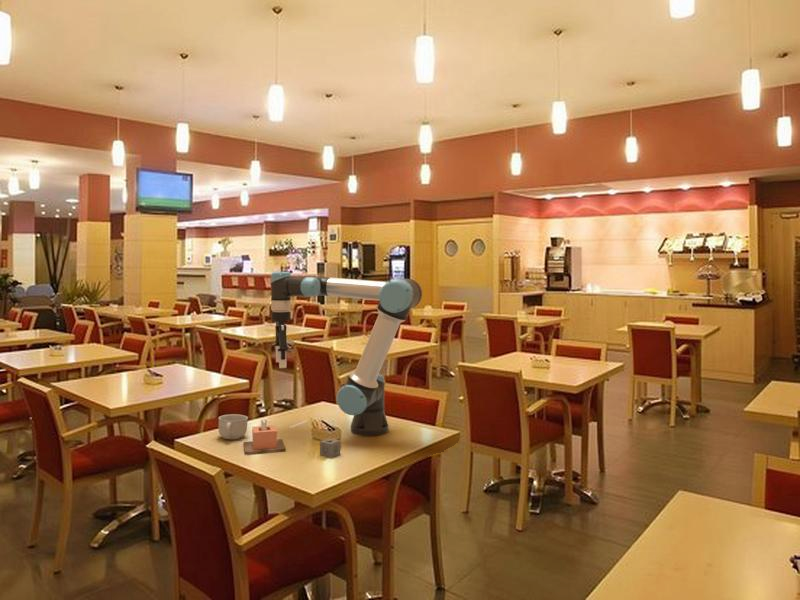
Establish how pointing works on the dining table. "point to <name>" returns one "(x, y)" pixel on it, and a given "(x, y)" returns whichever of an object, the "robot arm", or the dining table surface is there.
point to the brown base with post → (280, 448)
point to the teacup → (232, 426)
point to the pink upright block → (264, 437)
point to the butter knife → (297, 424)
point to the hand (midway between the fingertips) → (281, 365)
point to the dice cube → (330, 448)
